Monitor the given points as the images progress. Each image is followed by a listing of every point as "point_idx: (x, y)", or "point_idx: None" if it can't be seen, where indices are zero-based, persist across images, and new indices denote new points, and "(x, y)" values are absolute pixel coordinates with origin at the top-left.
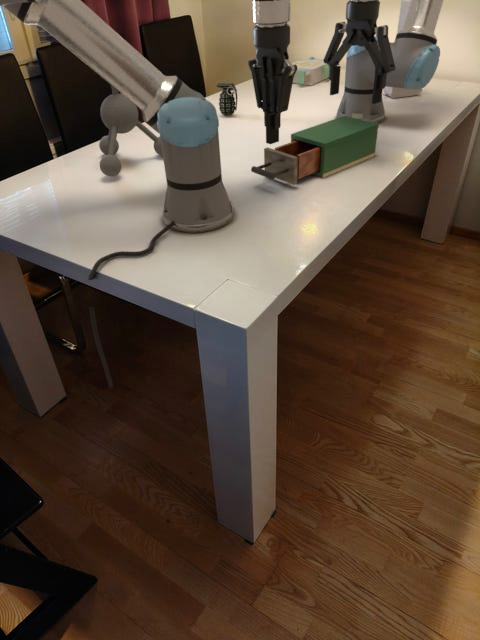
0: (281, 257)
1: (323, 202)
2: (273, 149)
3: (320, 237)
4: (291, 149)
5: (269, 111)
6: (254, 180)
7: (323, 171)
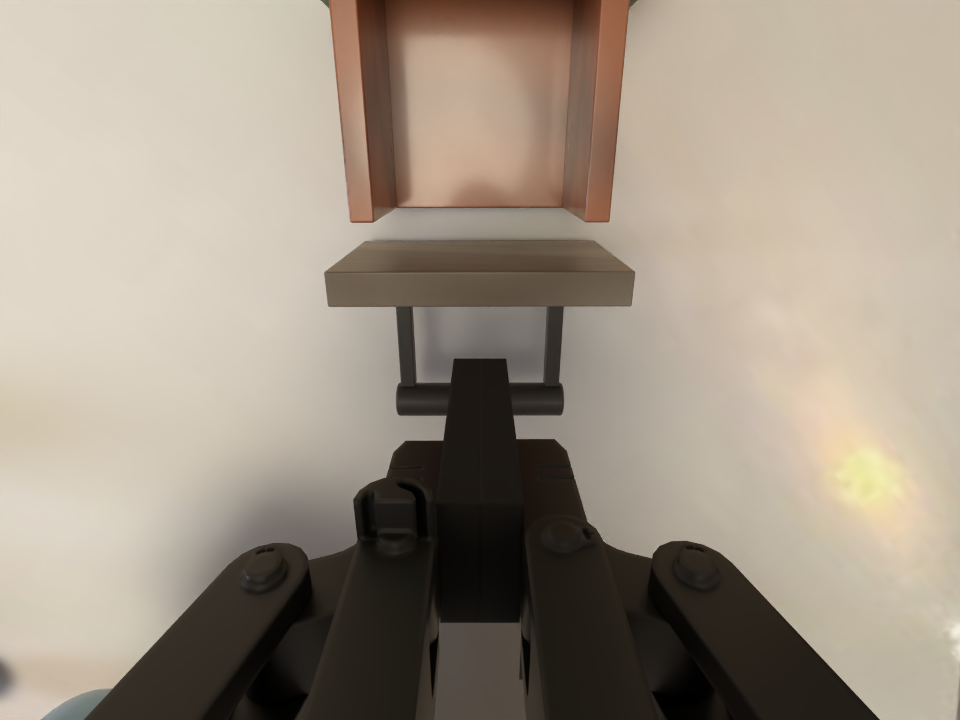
0: (878, 636)
1: (800, 277)
2: (392, 276)
3: (933, 497)
4: (369, 49)
5: (440, 586)
6: (361, 320)
7: (633, 3)
